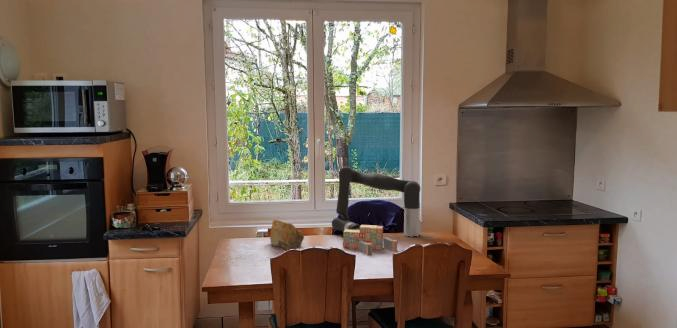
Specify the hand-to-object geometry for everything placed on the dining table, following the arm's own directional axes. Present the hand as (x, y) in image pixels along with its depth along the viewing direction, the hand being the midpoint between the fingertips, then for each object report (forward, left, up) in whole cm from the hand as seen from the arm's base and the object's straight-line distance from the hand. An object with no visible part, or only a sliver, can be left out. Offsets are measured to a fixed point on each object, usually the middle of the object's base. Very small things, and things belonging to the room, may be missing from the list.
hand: (368, 235), depth 254 cm
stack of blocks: (+4, +2, -6) cm, 8 cm away
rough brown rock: (+40, -19, -6) cm, 45 cm away
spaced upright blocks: (0, +10, -6) cm, 12 cm away
